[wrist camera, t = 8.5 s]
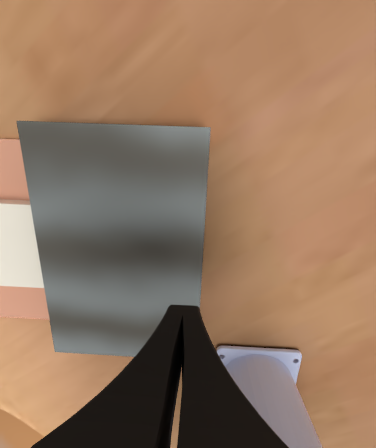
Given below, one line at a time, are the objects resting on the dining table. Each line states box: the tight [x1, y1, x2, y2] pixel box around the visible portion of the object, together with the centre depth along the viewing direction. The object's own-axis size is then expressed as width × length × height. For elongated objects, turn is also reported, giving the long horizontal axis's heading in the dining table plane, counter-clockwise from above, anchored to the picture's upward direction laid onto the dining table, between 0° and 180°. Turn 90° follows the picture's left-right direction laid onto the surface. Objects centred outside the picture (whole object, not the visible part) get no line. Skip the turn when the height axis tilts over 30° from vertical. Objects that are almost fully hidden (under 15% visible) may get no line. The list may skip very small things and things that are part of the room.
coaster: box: [0, 199, 44, 288], centre depth 19 cm, size 7×7×2 cm
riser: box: [17, 121, 211, 357], centre depth 18 cm, size 18×12×3 cm, turn 178°
